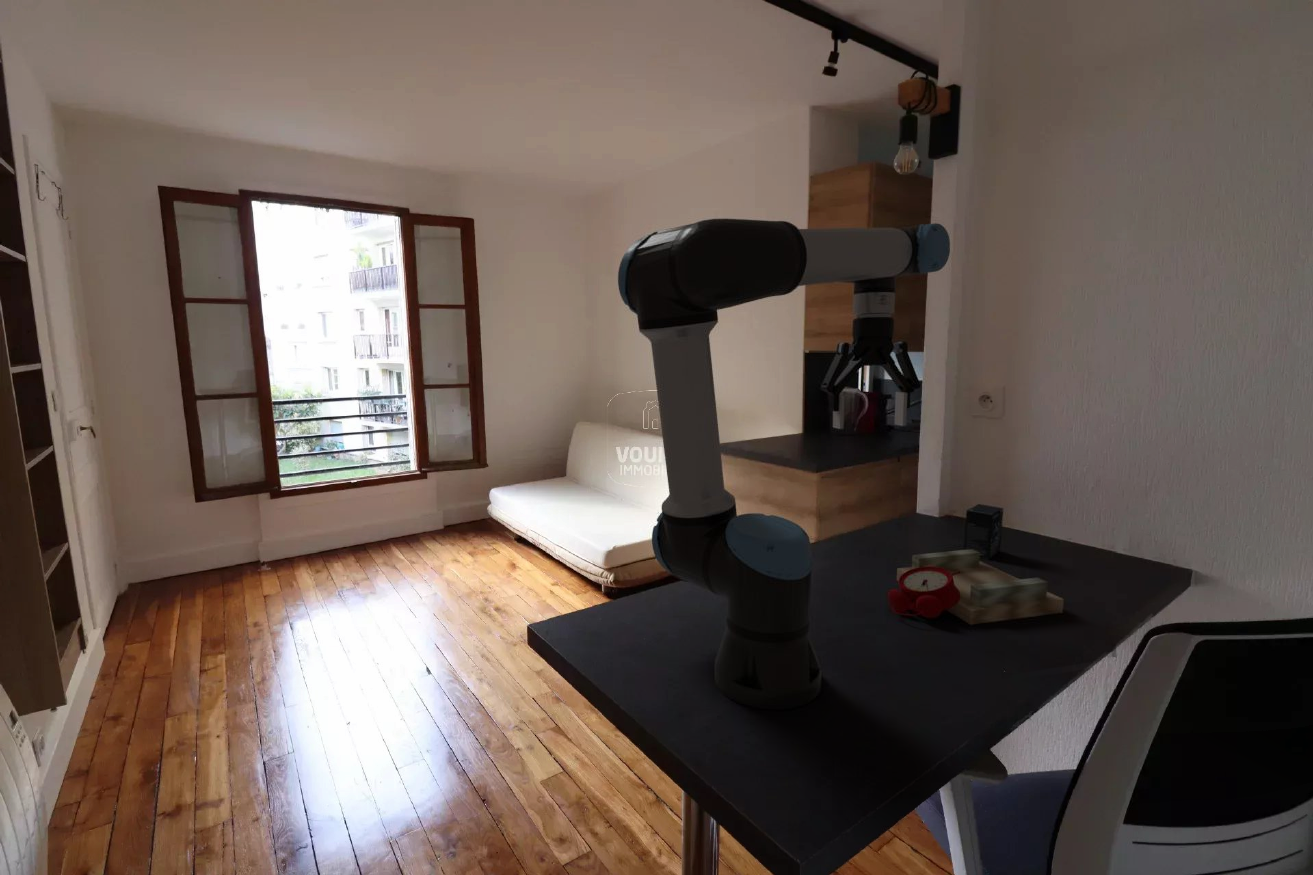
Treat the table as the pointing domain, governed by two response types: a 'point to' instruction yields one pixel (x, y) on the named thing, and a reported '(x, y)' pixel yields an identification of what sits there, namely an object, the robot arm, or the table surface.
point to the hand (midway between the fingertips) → (869, 426)
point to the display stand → (989, 589)
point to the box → (983, 530)
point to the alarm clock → (925, 592)
